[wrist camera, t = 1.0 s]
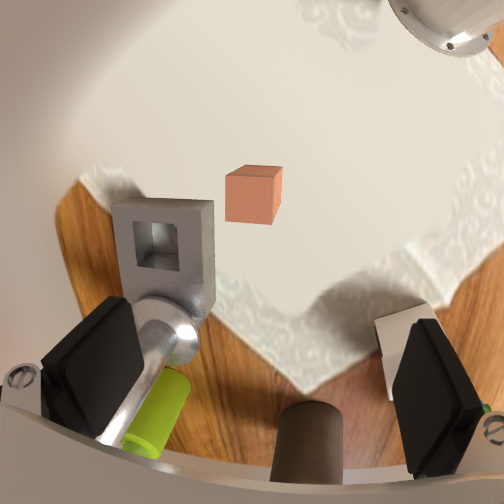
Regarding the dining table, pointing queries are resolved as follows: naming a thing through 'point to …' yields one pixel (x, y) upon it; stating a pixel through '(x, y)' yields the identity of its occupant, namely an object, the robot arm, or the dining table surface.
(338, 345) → the dining table surface
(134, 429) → the soap dispenser
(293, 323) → the dining table surface
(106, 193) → the dining table surface
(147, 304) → the slotted block
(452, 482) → the robot arm
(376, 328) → the medicine bottle
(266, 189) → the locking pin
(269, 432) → the dining table surface
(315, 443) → the pillar candle
